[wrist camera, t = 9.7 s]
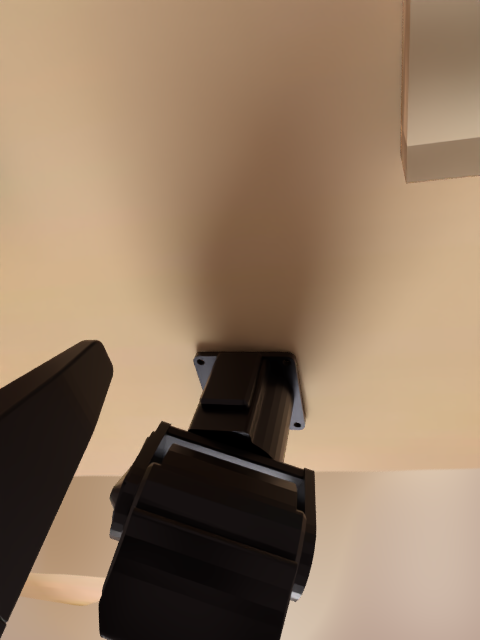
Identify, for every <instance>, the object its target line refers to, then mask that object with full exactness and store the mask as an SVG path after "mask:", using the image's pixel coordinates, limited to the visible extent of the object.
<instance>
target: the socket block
mask: <svg viewBox="0 0 480 640" xmlns="http://www.w3.org/2000/svg"><path fill="white" fill-rule="evenodd" d="M401 159H402V164H403V169H404V174H405V180H406V183H414V182H424V181H434V180H443V179H453V178H462V177H472V176H480V0H403V31H402V94H401Z"/></svg>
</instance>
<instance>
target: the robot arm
mask: <svg viewBox="0 0 480 640" xmlns="http://www.w3.org/2000/svg"><path fill="white" fill-rule="evenodd" d="M200 359H202V360H204V361H201V360H200ZM285 360H289V362H287V361H285ZM194 365H195V368H196V371H197V374H198V377H199V380H200V383H201V386H202V389H203V392H202V395H201V397H200V402H199V404H198V407H197V409H196V412H195V414H194V417H193V419H192V422H191V424H190V427H189V429H188V431H185V430H182V429H179V428H176V427H173V426H171V424H169V423H166V422H163V421H161V423H160V425H159V426H158V428H157V430H156V431H155V432H154V431H153V432H152V433H151V435H150V437H147V439H146V441H145V443H144V445H143V447H142V449H141V451H140V453H139V455H138V456H137V458H136V460H135V461H134V463H133V465H132V466H131V467H130V468H129V470H128V471H127V472H126V473H125V474H124V475H123V477H122V478H121V479H120V480H119V481H118V482H117V484H116V485H115V486H114V488H113V489H112V492H111V494H110V501H111V504H112V506H113V509H114V511H113V516H112V524H111V528H110V538H111V539H114V540H117V541H119V543H118V546H117V549H116V551H115V554H114V557H113V560H112V563H111V566H110V568H109V571H108V574H107V577H106V579H105V582H104V585H103V589H102V596H101V599H100V601H99V630H100V636H101V637H102V638H105V639H107V640H280V637H281V633H282V629H283V625H284V621H285V617H286V613H287V609H288V605H289V601H290V600H292V601H295V602H296V601H297V600H298V599H299V598H300V596H301V595H302V593H303V591H304V588H305V586H306V583H307V579H308V577H309V573H310V569H311V565H312V560H313V555H314V549H315V541H316V505H315V475H314V471H312V470H309V469H306V468H304V469H301V468H298V467H295V466H292V465H289V464H286V463H283V462H284V457H285V451H286V445H287V439H288V434H289V429H290V430H302V429H303V428H304V427H305V414H304V408H303V401H302V395H301V388H300V382H299V375H298V369H297V362H296V358H295V356H294V355H293V354H292V353H289V352H198V353H197V354H196V355H195V358H194ZM112 376H113V365H112V363H111V361H110V359H109V357H108V354H107V352H106V350H105V348H104V346H103V344H102V343H101V342H100V341H98V340H84V341H81V342H79V343H78V344H76V345H74V346H72V347H71V348H69V349H67V350H66V351H64V352H62V353H60V354H59V355H57V356H55V357H54V358H52V359H50V360H49V361H47V362H45V363H43V364H42V365H40V366H38V367H37V368H35V369H33V370H32V371H30V372H28V373H26V374H25V375H23V376H21V377H20V378H18V379H16V380H14V381H13V382H11V383H9V384H8V385H6V386H4V387H3V388H1V389H0V638H1V636H2V634H3V631H4V629H5V627H6V622H7V621H8V620H9V617H10V615H11V613H12V611H13V609H14V607H15V604H16V602H17V600H18V598H19V596H20V593H21V591H22V589H23V587H24V584H25V582H26V580H27V578H28V576H29V573H30V571H31V569H32V567H33V565H34V562H35V560H36V558H37V556H38V554H39V551H40V549H41V547H42V545H43V542H44V540H45V538H46V536H47V534H48V531H49V529H50V527H51V525H52V523H53V520H54V518H55V516H56V514H57V512H58V509H59V507H60V505H61V503H62V501H63V498H64V496H65V494H66V492H67V489H68V487H69V485H70V483H71V481H72V478H73V476H74V474H75V472H76V470H77V468H78V465H79V463H80V461H81V459H82V457H83V454H84V452H85V450H86V448H87V445H88V443H89V441H90V439H91V436H92V434H93V432H94V429H95V427H96V424H97V421H98V418H99V415H100V412H101V409H102V406H103V403H104V400H105V397H106V394H107V391H108V388H109V385H110V382H111V379H112ZM297 422H298V423H297Z"/></svg>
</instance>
